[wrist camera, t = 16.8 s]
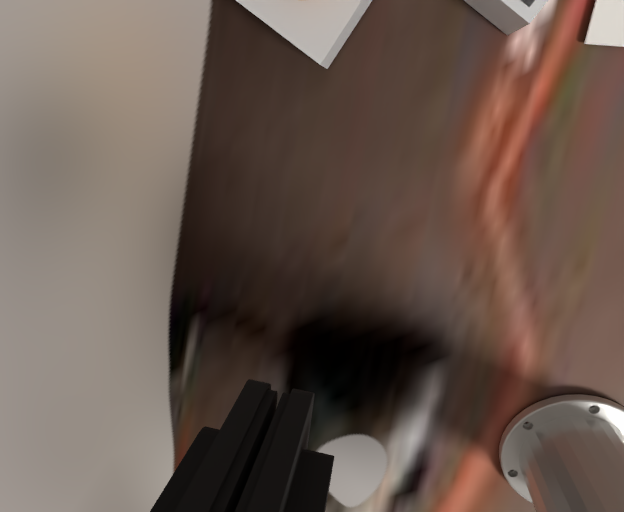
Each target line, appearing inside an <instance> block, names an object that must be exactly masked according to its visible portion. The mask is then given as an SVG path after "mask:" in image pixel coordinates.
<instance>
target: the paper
mask: <svg viewBox="0 0 624 512" xmlns="http://www.w3.org/2000/svg"><path fill="white" fill-rule="evenodd" d="M584 44H593V45H606V46H619V47H624V0H596V1H595V4H594V8H593V12H592V15H591V19H590V23H589V27H588V30H587V34H586V38H585V41H584Z"/></svg>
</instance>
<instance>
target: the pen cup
mask: <svg viewBox="0 0 624 512" xmlns="http://www.w3.org/2000/svg"><path fill="white" fill-rule="evenodd" d="M464 1H465V2H466V3H467V4H469V5H470V6H471V7H472V8H474V9H475V10H476V11H477V12H479V13H480V14H481V15H482V16H484V17H485V18H486V19H487V20H489V21H490V22H491V23H492V24H494V25H495V26H496V27H497V28H499V29H500V30H501V31H502V32H504V33H505V34H506V35H509V34H511V33H513V32H515V31H517V30H519V29H520V28H522V27H524V26H526V25H528V24H530V22H531V21H532V20H533V19H534V17H535V16H536V15H537V14H538V12H539V11H540V10H541V9H542V7H543V6H544V5H545V4H546V2H547V1H548V0H464Z"/></svg>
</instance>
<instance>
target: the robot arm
mask: <svg viewBox="0 0 624 512" xmlns="http://www.w3.org/2000/svg"><path fill="white" fill-rule="evenodd" d="M313 402H314V393H312V392H307V391H302V390H298V389H292V391H291V394H287V393H283V394H282V397H281V399H280V401H279V404H278V406H277V409H276V404H277V391H273V390H271V385H270V384H269V383H264V382H259V381H255V380H250V379H249V380H248V381H247V383H246V384H245V386H244V388H243V390H242V391H241V393H240V395H239V397H238V399H237V400H236V402H235V404H234V406H233V408H232V409H231V411H230V413H229V415H228V417H227V418H226V420H225V422H224V424H223V425H222V427H221V429H220V430H218V429H214V428H209V427H204V428H202V429H201V431H200V432H199V434H198V435H197V437H196V438H195V440H194V442H193V443H192V445H191V446H190V448H189V450H188V451H187V453H186V455H185V456H184V458H183V459H182V461H181V463H180V464H179V466H178V467H177V469H176V471H175V472H174V474H173V476H172V477H171V479H170V480H169V482H168V484H167V485H166V487H165V488H164V491H163V492H162V493H161V495H160V497H159V498H158V500H157V501H156V503H155V505H154V506H153V508H152V509H151V511H150V512H325V509H326V503H327V497H328V491H329V485H330V479H331V473H332V467H333V461H334V456H332V455H328V454H324V453H319V452H315V451H310V450H307V446H308V439H309V431H310V424H311V417H312V410H313ZM499 459H500V464H501V467H502V470H503V473H504V476H505V478H506V479H507V481H508V482H509V484H510V486H511V487H512V488H513V489H514V490H515V491H516V492H517V493H518V494H519V495H520V496H522V497H523V498H525V499H526V500H528V501H529V502H531V503H533V504H534V507H535V510H536V512H624V407H623V406H621V405H619V404H617V403H615V402H613V401H611V400H608V399H604V398H601V397H597V396H591V395H583V394H573V395H562V396H556V397H551V398H548V399H545V400H542V401H539V402H537V403H535V404H533V405H531V406H529V407H527V408H526V409H524V410H523V411H522V412H520V413H519V414H518V415H517V416H515V418H514V419H513V420H512V421H511V422H510V423H509V424H508V426H507V427H506V429H505V431H504V433H503V434H502V437H501V441H500V444H499Z"/></svg>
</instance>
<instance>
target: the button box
mask: <svg viewBox="0 0 624 512" xmlns="http://www.w3.org/2000/svg"><path fill="white" fill-rule="evenodd" d="M236 1H237V2H238V3H240V4H241V5H242V6H244V7H245V8H246V9H248V10H249V11H250V12H252V13H253V14H254V15H255V16H257V17H258V18H259V19H261V20H262V21H263V22H265V23H266V24H267V25H269V26H270V27H271V28H273V29H274V30H275V31H276V32H278V33H279V34H280V35H282V36H283V37H284V38H286V39H287V40H288V41H290V42H291V43H292V44H293V45H295V46H296V47H297V48H299V49H300V50H301V51H303V52H304V53H305V54H307V55H308V56H309V57H311V58H312V59H313V60H314V61H316V62H317V63H318V64H320V65H321V66H323V67H325V68H326V69H328V67H329V66H330V64H331V63H332V61H333V60H334V58H335V57H336V55H337V54H338V52H339V51H340V49H341V48H342V46H343V44H344V43H345V41H346V40H347V38H348V37H349V35H350V34H351V32H352V31H353V29H354V28H355V26H356V25H357V23H358V21H359V20H360V18H361V17H362V15H363V14H364V12H365V11H366V9H367V8H368V6H369V5H370V3H371V2H372V0H236Z"/></svg>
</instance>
